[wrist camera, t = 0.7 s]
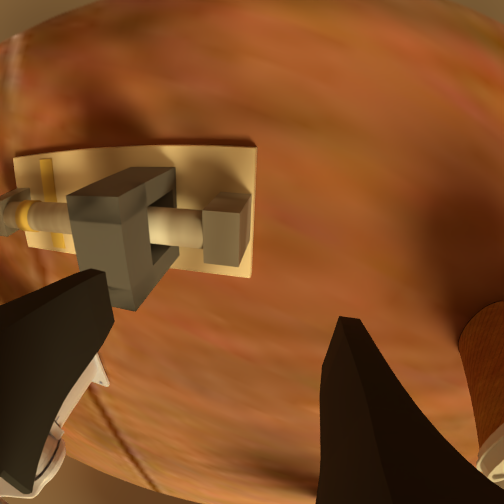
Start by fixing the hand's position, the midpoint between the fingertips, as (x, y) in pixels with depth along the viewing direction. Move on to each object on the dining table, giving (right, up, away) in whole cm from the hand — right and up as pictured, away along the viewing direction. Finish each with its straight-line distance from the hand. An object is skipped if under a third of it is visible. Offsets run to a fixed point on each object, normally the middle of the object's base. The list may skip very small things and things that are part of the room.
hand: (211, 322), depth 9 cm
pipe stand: (-9, +5, +11) cm, 15 cm away
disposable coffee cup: (+21, -4, +10) cm, 24 cm away
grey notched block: (-5, +5, +10) cm, 12 cm away
